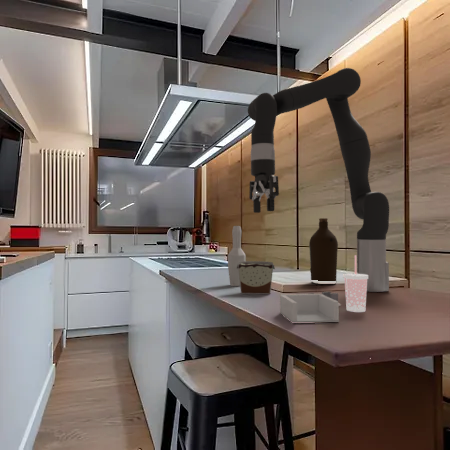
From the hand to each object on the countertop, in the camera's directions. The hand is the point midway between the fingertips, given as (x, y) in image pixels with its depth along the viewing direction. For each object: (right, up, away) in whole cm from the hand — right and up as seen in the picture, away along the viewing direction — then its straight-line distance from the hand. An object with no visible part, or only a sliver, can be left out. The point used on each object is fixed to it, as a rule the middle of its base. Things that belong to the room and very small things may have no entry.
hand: (263, 211), depth 116 cm
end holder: (+7, -26, -30) cm, 40 cm away
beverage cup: (+21, -26, -21) cm, 40 cm away
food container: (-2, -26, +6) cm, 27 cm away
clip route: (+13, -26, -18) cm, 34 cm away
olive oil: (+26, -27, +28) cm, 46 cm away
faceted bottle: (-8, -27, +22) cm, 35 cm away
